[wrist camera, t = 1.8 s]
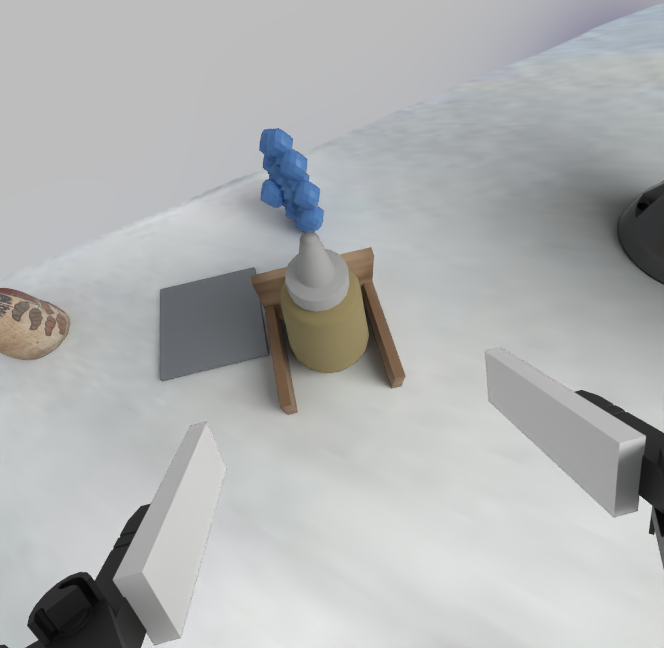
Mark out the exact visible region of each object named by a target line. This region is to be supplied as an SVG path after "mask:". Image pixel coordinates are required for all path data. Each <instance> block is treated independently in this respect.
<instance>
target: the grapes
mask: <svg viewBox="0 0 664 648" xmlns="http://www.w3.org/2000/svg"><path fill="white" fill-rule="evenodd" d="M292 142H293V139H292V138H291V137H290V136H289V135H288V134H287V133H285V132H284V131H282V130H280V129H279V128H277V129H266V130H264V131H263V132H262V134H261V140H260V151H261V152H262V153H263V154H264V160H263V168H264V169H265V170H267V171H268V174H270V175H269V179H267V180H265V182H264V183H263V185H262V191H261V200H262V201H263V202H265V203H266V204H268V205H270V206H272V207H276V208H279V207H280V206H281V205H283V206H284V207H285V210H286V216H288V217H289V218H291V219H293V220H295V221H296V227H297V228H298V229H300V230H302V231H304V232H315V231H316V230H318V229H319V228H320V227H321V226H322V222H323V213H324V210H322V209H321V208H319V207H318V206H317V205H318V202H319V193H320V189H319V188H318V187H317V186H315V185H314V184H312V183H311V182H309V175H308V174H307V173H306V169H307V159H306V158H305V157H304V156H303V155H301V154H300V153H299V152H297V151H295V150H292Z"/></svg>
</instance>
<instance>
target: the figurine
mask: <svg viewBox="0 0 664 648" xmlns="http://www.w3.org/2000/svg"><path fill="white" fill-rule="evenodd" d="M69 323H70V321H69V317H68V315H67V314H66V313H65V312H64V311H63V310H61V309H59V308H58V307H56V306H55V305H53V304H51V303H49V302H46V301H42V300H39V299H37V298H35V297H32V296H30V295H28V294H25V293H23V292H20V291H17V290H13V289H8V288H0V352H1V353H3V354H5V355H7V356H10V357H13V358H18V359H24V360H31V359H37V358H41V357H43V356H45V355H47V354H49V353H50V352H52V351H53V350H54V349H55V348H57V347H58V346H59V345H60V344H61V342H62V341H63V340H64V339H65V337H66V335H67V334H68V329H69Z"/></svg>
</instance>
